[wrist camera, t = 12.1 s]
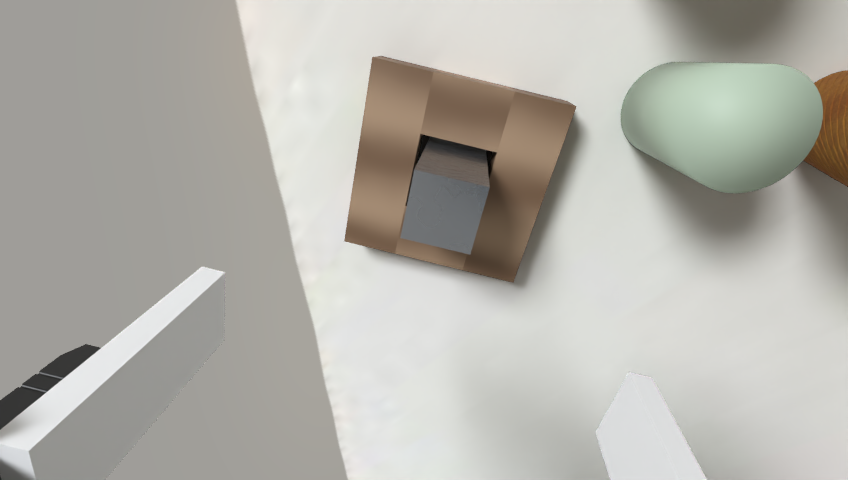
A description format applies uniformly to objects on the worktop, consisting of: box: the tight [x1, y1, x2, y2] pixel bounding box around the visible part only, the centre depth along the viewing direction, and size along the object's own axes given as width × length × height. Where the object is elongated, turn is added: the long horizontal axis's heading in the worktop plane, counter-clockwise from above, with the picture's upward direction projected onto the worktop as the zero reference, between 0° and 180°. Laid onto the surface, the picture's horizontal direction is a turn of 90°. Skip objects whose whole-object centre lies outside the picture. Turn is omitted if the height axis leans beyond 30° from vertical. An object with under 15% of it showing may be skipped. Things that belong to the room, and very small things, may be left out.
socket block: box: [345, 56, 576, 282], centre depth 33 cm, size 14×14×3 cm
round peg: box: [621, 62, 823, 193], centre depth 26 cm, size 6×6×10 cm
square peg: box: [400, 137, 490, 254], centre depth 30 cm, size 4×4×10 cm
